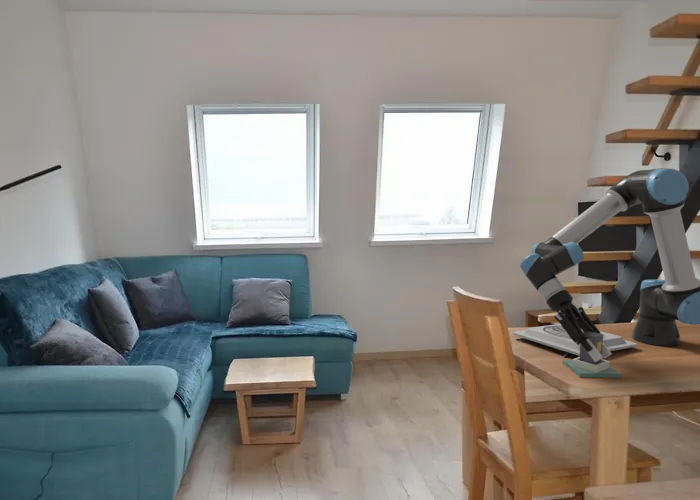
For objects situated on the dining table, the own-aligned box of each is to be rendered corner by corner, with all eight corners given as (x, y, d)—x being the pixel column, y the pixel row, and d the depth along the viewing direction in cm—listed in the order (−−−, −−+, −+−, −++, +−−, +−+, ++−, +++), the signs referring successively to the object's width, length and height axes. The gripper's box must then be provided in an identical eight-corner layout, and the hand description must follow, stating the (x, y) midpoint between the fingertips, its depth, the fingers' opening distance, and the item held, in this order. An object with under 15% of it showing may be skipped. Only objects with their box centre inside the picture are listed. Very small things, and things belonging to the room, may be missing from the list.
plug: (586, 361, 151) (588, 331, 150) (601, 366, 148) (603, 334, 146) (579, 364, 149) (581, 333, 148) (594, 369, 145) (596, 337, 144)
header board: (600, 363, 154) (601, 354, 154) (620, 377, 142) (621, 367, 142) (562, 363, 154) (563, 353, 154) (579, 377, 142) (580, 366, 142)
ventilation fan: (566, 314, 195) (639, 332, 168) (565, 330, 195) (638, 349, 169) (512, 321, 181) (582, 341, 155) (511, 337, 182) (581, 360, 155)
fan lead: (569, 350, 167) (569, 348, 167) (571, 351, 167) (571, 348, 167) (563, 357, 160) (563, 354, 160) (565, 357, 160) (565, 355, 160)
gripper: (562, 298, 164) (608, 358, 152) (531, 305, 154) (579, 370, 142) (578, 285, 159) (627, 346, 147) (547, 291, 149) (597, 357, 137)
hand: (603, 358), depth 145 cm, fingers open, 5 cm apart
